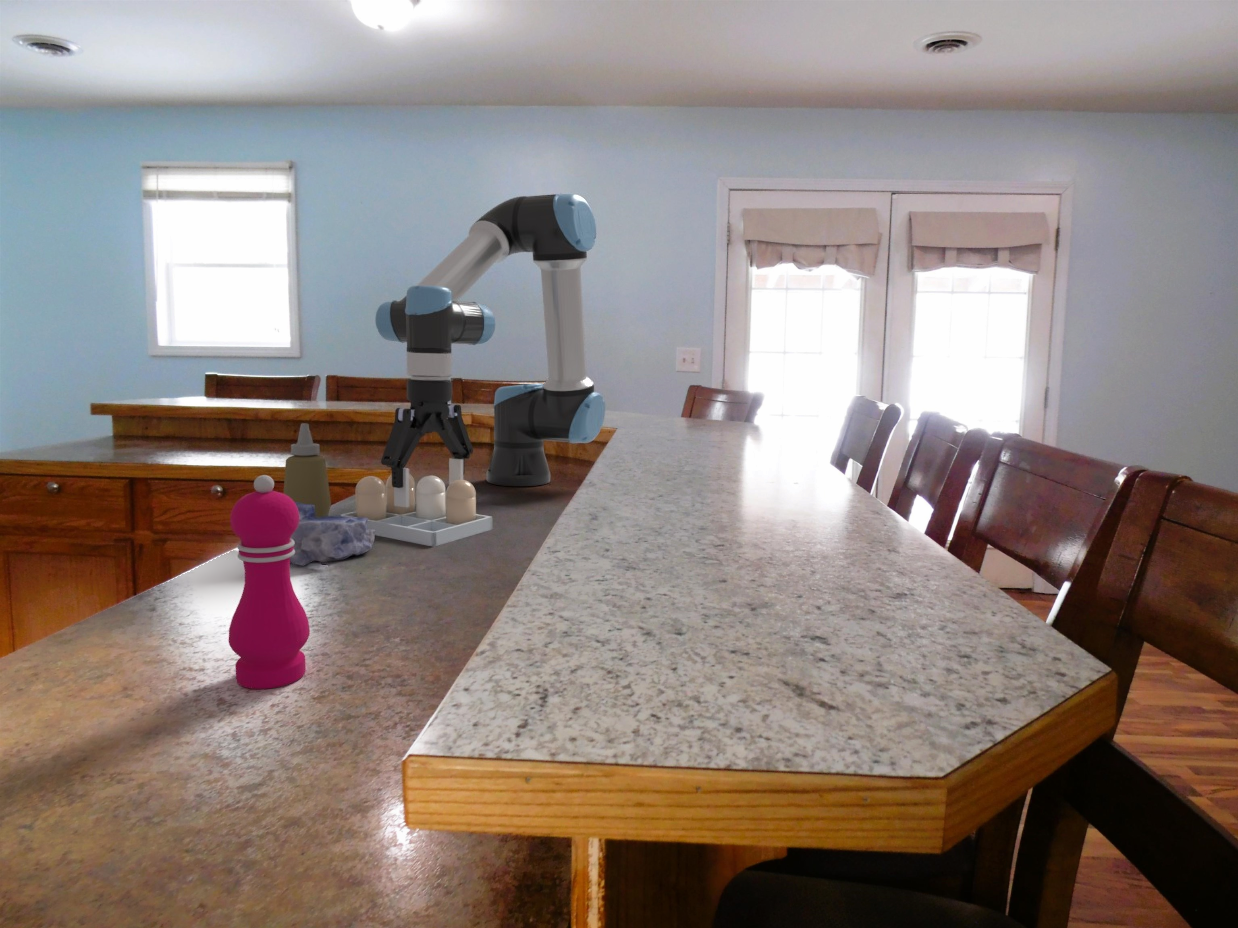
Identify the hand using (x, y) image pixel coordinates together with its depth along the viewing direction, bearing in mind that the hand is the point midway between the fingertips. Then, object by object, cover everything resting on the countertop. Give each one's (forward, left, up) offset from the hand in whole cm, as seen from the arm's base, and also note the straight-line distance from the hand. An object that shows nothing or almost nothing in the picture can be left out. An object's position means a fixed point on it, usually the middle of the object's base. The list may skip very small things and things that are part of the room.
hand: (430, 500), depth 139 cm
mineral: (+24, +1, -6) cm, 25 cm away
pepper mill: (+55, +30, -5) cm, 63 cm away
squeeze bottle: (+10, -19, -5) cm, 22 cm away
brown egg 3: (0, +7, -4) cm, 8 cm away
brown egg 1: (+7, -7, -4) cm, 11 cm away
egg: (0, 0, -4) cm, 4 cm away
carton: (+4, 0, -5) cm, 6 cm away
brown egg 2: (0, -7, -4) cm, 8 cm away
